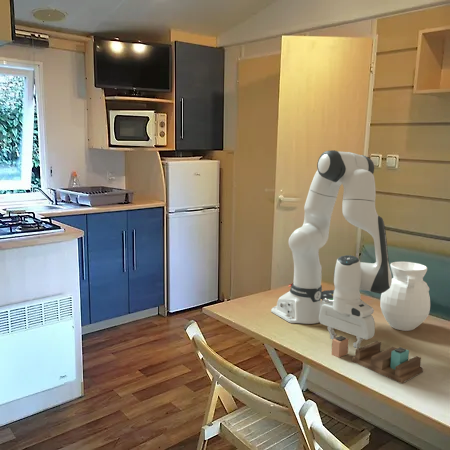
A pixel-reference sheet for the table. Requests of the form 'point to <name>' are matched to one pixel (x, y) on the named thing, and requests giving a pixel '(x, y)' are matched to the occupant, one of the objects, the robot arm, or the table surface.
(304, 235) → the robot arm
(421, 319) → the pitcher
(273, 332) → the table surface
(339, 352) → the orange rectangular block
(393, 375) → the brown slotted tray
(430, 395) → the table surface
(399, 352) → the teal box with panel
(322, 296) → the disk drive
